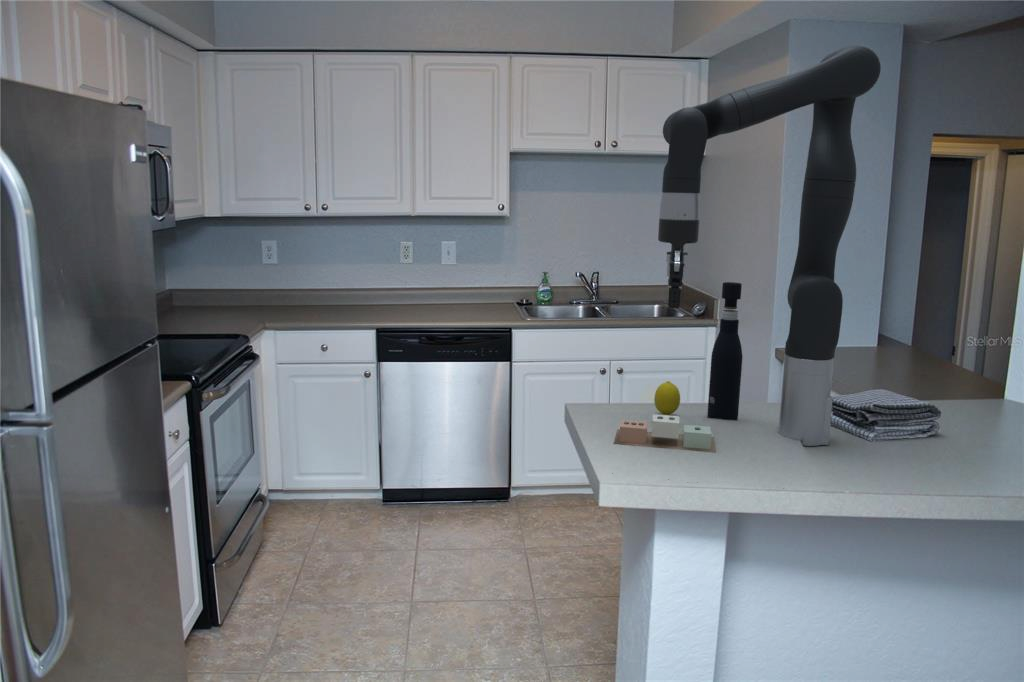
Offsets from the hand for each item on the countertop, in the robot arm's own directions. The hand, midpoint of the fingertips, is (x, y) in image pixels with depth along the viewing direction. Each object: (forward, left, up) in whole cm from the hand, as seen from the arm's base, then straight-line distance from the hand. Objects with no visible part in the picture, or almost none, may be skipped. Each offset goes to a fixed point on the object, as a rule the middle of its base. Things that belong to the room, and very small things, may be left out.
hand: (673, 307), depth 155 cm
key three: (+6, +6, -25) cm, 27 cm away
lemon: (0, -17, -27) cm, 31 cm away
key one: (-6, +6, -25) cm, 27 cm away
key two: (0, +6, -24) cm, 24 cm away
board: (0, +5, -26) cm, 27 cm away
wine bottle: (-12, -17, -27) cm, 34 cm away
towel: (-44, -20, -27) cm, 55 cm away
